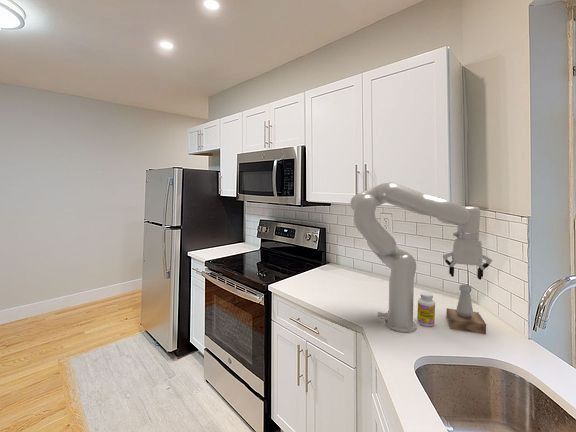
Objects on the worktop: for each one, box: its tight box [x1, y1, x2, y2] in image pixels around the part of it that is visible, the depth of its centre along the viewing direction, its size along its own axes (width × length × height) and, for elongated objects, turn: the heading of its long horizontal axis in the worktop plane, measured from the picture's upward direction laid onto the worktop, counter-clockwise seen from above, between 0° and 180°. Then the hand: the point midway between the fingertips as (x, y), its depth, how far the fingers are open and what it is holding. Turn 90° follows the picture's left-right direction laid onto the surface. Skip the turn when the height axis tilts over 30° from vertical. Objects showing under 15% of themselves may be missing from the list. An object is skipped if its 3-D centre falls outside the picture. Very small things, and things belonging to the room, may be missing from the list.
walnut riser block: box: [445, 308, 487, 335], centre depth 116 cm, size 12×12×4 cm
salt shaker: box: [456, 284, 474, 318], centre depth 115 cm, size 6×6×13 cm
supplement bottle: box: [416, 291, 436, 327], centre depth 118 cm, size 7×7×13 cm
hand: (465, 277), depth 115 cm, fingers open, 9 cm apart
